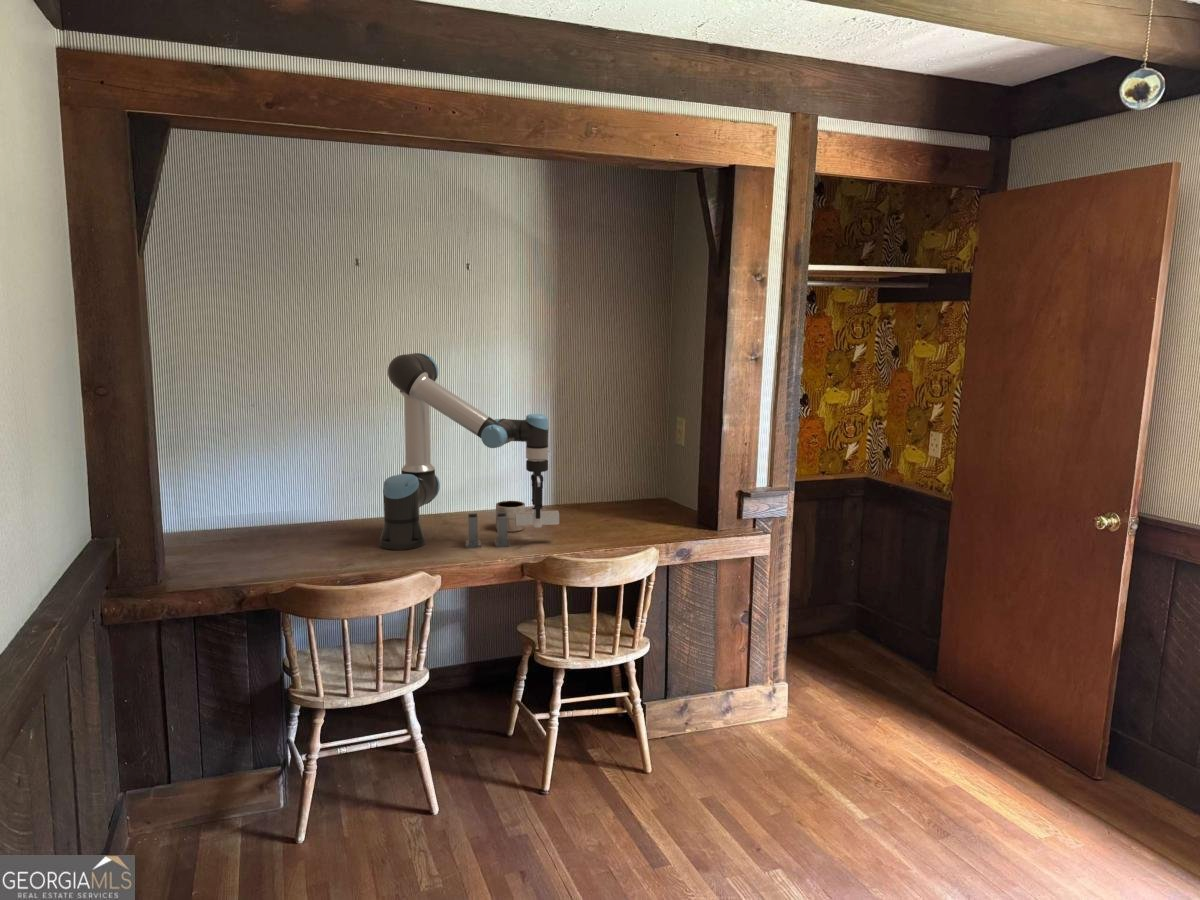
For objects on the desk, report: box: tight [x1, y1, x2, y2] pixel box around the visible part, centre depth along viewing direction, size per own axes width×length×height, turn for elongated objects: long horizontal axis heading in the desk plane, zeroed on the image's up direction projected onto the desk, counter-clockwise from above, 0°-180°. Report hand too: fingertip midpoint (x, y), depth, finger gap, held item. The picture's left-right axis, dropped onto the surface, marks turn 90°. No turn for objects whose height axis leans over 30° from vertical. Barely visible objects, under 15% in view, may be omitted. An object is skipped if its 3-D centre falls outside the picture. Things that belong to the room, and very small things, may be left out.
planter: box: [495, 500, 526, 533], centre depth 295 cm, size 11×11×10 cm
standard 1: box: [465, 512, 482, 549], centre depth 273 cm, size 5×7×10 cm
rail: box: [515, 510, 560, 526], centre depth 276 cm, size 15×4×4 cm, turn 100°
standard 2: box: [494, 513, 511, 548], centre depth 274 cm, size 5×7×10 cm
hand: (537, 525), depth 276 cm, fingers closed on rail, 4 cm apart
